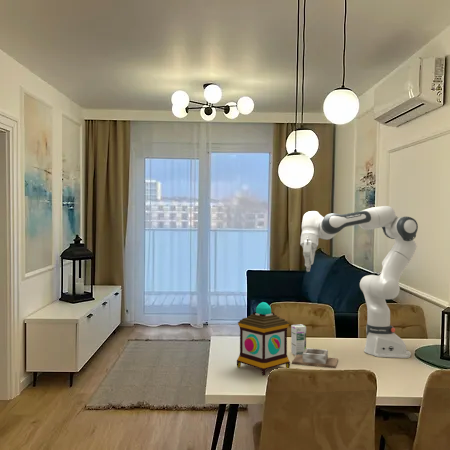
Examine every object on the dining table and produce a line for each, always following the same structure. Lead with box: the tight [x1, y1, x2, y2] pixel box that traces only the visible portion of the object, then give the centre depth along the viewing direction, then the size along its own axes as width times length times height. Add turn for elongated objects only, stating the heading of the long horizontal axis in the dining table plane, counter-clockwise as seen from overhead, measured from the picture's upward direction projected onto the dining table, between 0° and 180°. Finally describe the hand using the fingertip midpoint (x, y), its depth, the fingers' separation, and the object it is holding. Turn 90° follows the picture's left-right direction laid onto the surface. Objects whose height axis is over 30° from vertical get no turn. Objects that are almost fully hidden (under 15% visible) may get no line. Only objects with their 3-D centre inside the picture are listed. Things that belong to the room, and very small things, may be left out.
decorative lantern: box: [236, 301, 291, 377], centre depth 217 cm, size 20×20×30 cm
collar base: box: [291, 347, 339, 369], centre depth 227 cm, size 20×13×5 cm, turn 71°
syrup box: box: [290, 323, 307, 357], centre depth 241 cm, size 6×6×14 cm
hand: (307, 268), depth 236 cm, fingers open, 8 cm apart
